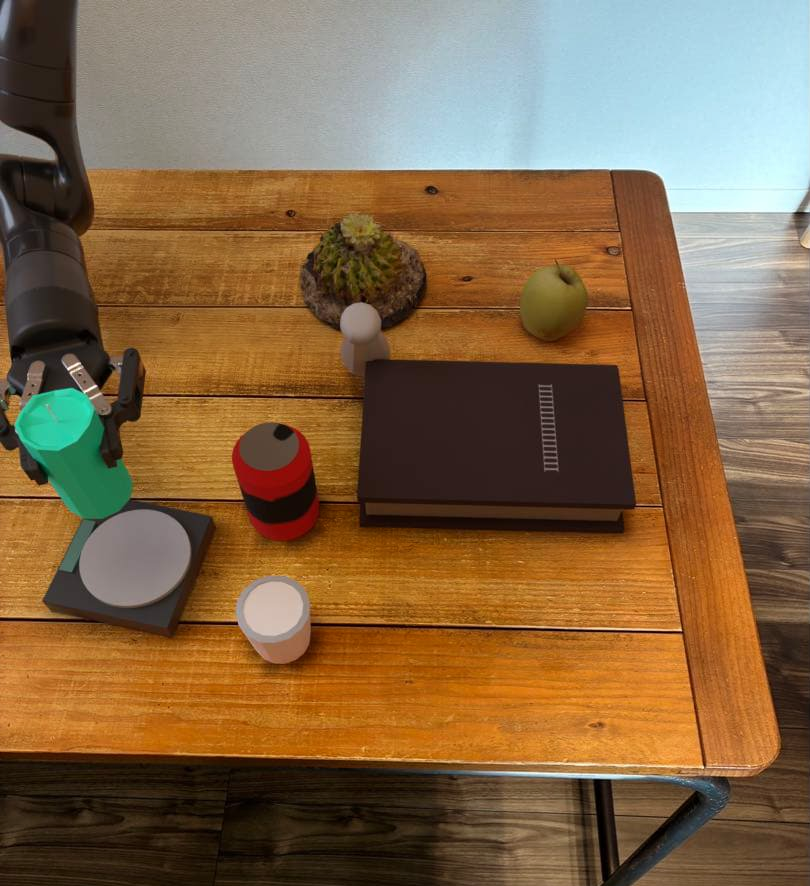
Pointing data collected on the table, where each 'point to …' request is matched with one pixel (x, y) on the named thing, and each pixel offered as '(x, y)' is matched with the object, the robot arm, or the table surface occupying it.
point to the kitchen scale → (132, 567)
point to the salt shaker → (362, 338)
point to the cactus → (362, 272)
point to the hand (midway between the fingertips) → (74, 469)
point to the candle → (73, 452)
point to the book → (494, 447)
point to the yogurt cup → (275, 618)
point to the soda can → (277, 480)
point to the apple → (553, 302)
